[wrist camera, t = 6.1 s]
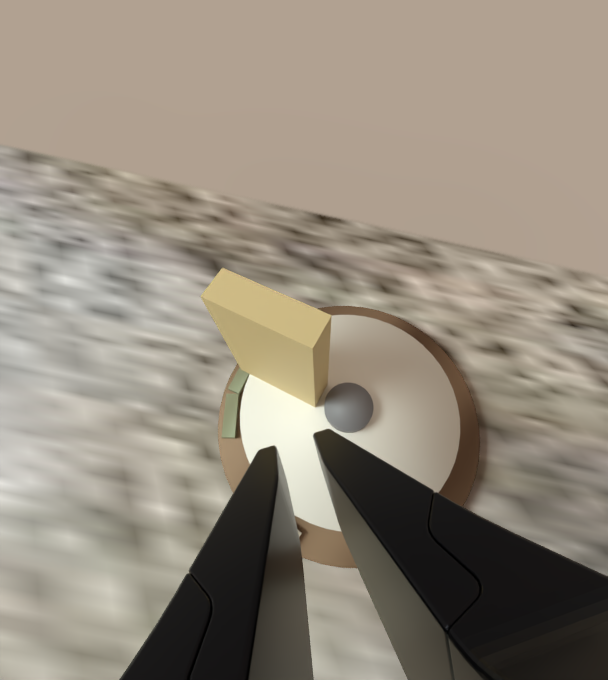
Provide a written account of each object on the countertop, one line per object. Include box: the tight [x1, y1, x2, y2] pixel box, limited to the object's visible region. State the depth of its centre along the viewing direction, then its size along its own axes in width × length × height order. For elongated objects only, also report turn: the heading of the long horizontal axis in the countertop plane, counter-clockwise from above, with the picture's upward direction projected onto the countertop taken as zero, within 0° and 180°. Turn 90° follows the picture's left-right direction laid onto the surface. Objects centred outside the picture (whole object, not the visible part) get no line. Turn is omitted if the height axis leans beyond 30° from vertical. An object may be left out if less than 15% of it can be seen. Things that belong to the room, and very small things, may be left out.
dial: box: [201, 268, 460, 532], centre depth 15 cm, size 11×12×8 cm
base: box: [218, 306, 480, 568], centre depth 19 cm, size 14×14×1 cm
